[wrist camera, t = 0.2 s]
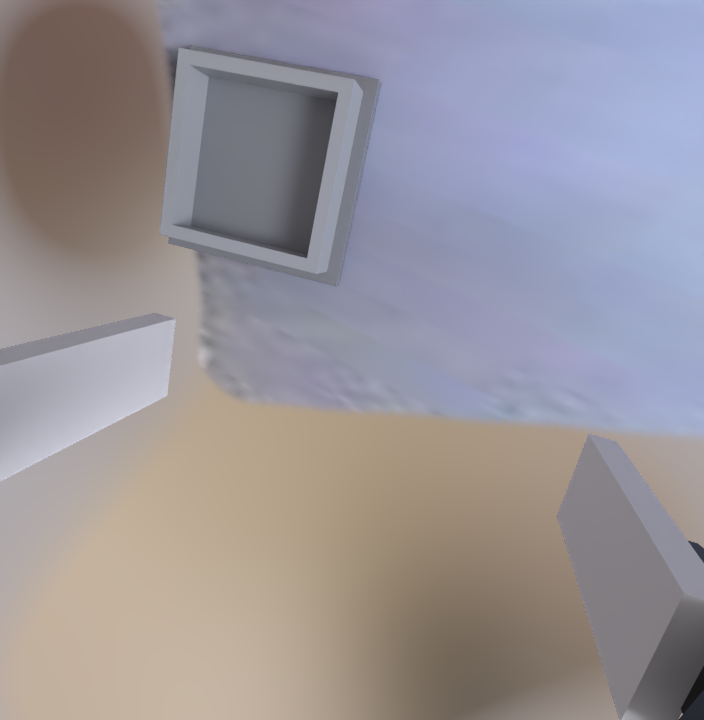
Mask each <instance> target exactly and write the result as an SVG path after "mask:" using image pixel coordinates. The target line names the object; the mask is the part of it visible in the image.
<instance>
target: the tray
mask: <svg viewBox="0 0 704 720" xmlns="http://www.w3.org/2000/svg"><path fill="white" fill-rule="evenodd" d="M380 87H381V82H380V81H379V79H373V78H368V77H362V76H357V75H351V74H345V73H340V72H334V71H329V70H323V69H317V68H312V67H306V66H301V65H295V64H289V63H284V62H278V61H273V60H267V59H262V58H256V57H250V56H245V55H239V54H234V53H228V52H222V51H217V50H211V49H206V48H200V47H194V46H190V49H183V48H179V49H178V59H177V69H176V78H175V88H174V98H173V107H172V117H171V127H170V137H169V147H168V156H167V165H166V175H165V185H164V194H163V204H162V214H161V223H160V233H159V234H161V235H164V236H168V237H169V244H173V245H177V246H181V247H185V248H189V249H193V250H197V251H201V252H204V253H208V254H212V255H216V256H220V257H224V258H228V259H232V260H236V261H240V262H244V263H247V264H251V265H255V266H259V267H263V268H267V269H271V270H275V271H279V272H283V273H287V274H291V275H294V276H298V277H302V278H306V279H310V280H314V281H318V282H322V283H326V284H330V285H334V286H337V285H339V281H340V277H341V272H342V267H343V262H344V258H345V253H346V248H347V243H348V239H349V234H350V229H351V224H352V220H353V215H354V210H355V205H356V201H357V196H358V191H359V186H360V182H361V177H362V172H363V167H364V163H365V158H366V153H367V148H368V144H369V139H370V134H371V129H372V125H373V120H374V115H375V110H376V106H377V101H378V96H379V91H380Z"/></svg>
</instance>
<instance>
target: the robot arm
mask: <svg viewBox="0 0 704 720" xmlns="http://www.w3.org/2000/svg"><path fill="white" fill-rule="evenodd" d="M175 321H176V319H175V318H172V317H168V316H164V315H161V314H157V313H152V314H148V315H144V316H140V317H135V318H131V319H127V320H122V321H118V322H114V323H110V324H105V325H101V326H97V327H93V328H88V329H84V330H80V331H76V332H71V333H67V334H63V335H59V336H54V337H50V338H45V339H41V340H37V341H33V342H28V343H24V344H19V345H15V346H11V347H7V348H2V349H0V481H2V480H4V479H6V478H8V477H10V476H12V475H14V474H16V473H18V472H20V471H22V470H24V469H25V468H27V467H29V466H31V465H33V464H35V463H37V462H39V461H41V460H43V459H45V458H47V457H49V456H51V455H53V454H54V453H57V452H59V451H60V450H62V449H64V448H66V447H68V446H70V445H72V444H74V443H76V442H78V441H80V440H82V439H84V438H86V437H88V436H90V435H92V434H94V433H95V432H97V431H99V430H101V429H103V428H105V427H107V426H109V425H111V424H113V423H115V422H117V421H119V420H121V419H123V418H125V417H127V416H128V415H130V414H132V413H134V412H136V411H138V410H140V409H142V408H144V407H146V406H148V405H150V404H152V403H154V402H156V401H158V400H160V399H162V398H164V397H165V396H167V392H168V383H169V374H170V364H171V356H172V347H173V338H174V330H175ZM557 518H558V521H559V524H560V527H561V531H562V534H563V538H564V541H565V544H566V547H567V551H568V554H569V557H570V561H571V564H572V567H573V570H574V574H575V577H576V580H577V583H578V587H579V590H580V593H581V596H582V600H583V603H584V606H585V609H586V613H587V616H588V619H589V622H590V626H591V629H592V632H593V636H594V639H595V642H596V645H597V649H598V652H599V655H600V658H601V661H602V665H603V668H604V672H605V675H606V678H607V681H608V685H609V688H610V691H611V695H612V698H613V701H614V704H615V707H616V711H617V714H618V717H619V720H678V719H679V717H680V715H681V713H683V715H682V716H681V717H680V719H679V720H704V548H702V547H701V546H700V545H699V544H697V543H694V542H691V541H688V540H687V539H686V538H685V536H684V535H683V533H682V532H681V531H680V529H679V528H678V527H677V525H676V524H675V522H674V521H673V519H672V518H671V517H670V515H669V514H668V512H667V511H666V510H665V509H664V507H663V506H662V504H661V503H660V501H659V500H658V498H657V497H656V496H655V494H654V493H653V492H652V490H651V489H650V487H649V486H648V484H647V483H646V482H645V481H644V479H643V477H642V476H641V475H640V473H639V472H638V471H637V469H636V468H635V466H634V465H633V463H632V462H631V461H630V459H629V458H628V456H627V455H626V454H625V452H624V451H623V449H622V448H621V447H620V445H619V444H618V443H617V441H613V440H610V439H606V438H602V437H599V436H595V435H592V434H588V437H587V439H586V442H585V444H584V448H583V450H582V452H581V455H580V457H579V460H578V463H577V465H576V468H575V470H574V473H573V476H572V478H571V481H570V483H569V486H568V489H567V491H566V494H565V497H564V499H563V502H562V504H561V507H560V509H559V512H558V515H557Z"/></svg>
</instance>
